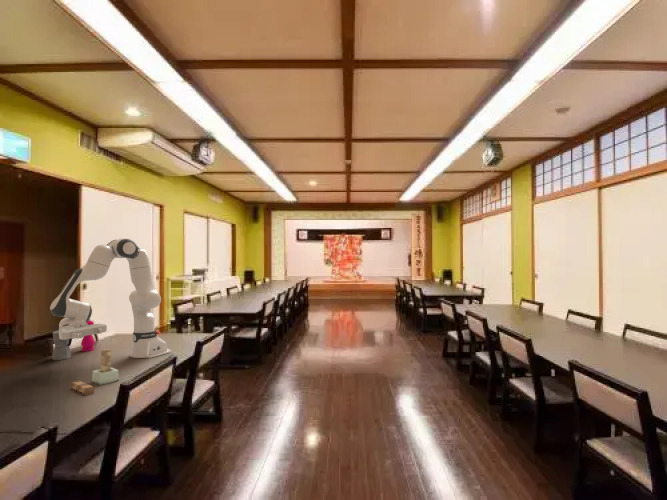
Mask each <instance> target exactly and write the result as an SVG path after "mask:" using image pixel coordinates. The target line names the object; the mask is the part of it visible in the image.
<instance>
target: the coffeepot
mask: <svg viewBox="0 0 667 500" xmlns="http://www.w3.org/2000/svg"><path fill="white" fill-rule="evenodd" d="M52 336H53V338H52V339H53V344H54V348H53V352H52V357H51V359H52V360H53V361H63V359H64V360H68V359H70V358H72V354H71V344H72V341H73V338H71V339H66V340H61V339H59V330H55V331H53V332H52Z"/></svg>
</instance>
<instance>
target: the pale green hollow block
mask: <svg viewBox="0 0 667 500" xmlns="http://www.w3.org/2000/svg"><path fill="white" fill-rule="evenodd" d="M91 379H92V380H91V381H92V383H94V382H95V384H97V385H99V386H101V385H106V384H110V383H114V382H115V383H116V382H119V369H117V368H114V367H111V371H109V372H104V373H101V368H100V369H96V370H92V378H91Z"/></svg>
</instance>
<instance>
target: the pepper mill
mask: <svg viewBox="0 0 667 500" xmlns="http://www.w3.org/2000/svg"><path fill="white" fill-rule="evenodd" d="M87 324H88V325H93V324H95V322H94V321H93V320H91V318H90V319H89V320H88V322H87ZM95 343H96V341H95V339H94V334H92V335H87V336H84V337H82V338H81V342H80V345H81V346H82V347H81V351H82V352H92V351H94V350H95V349H94V348H95V347H94V345H95Z"/></svg>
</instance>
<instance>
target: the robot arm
mask: <svg viewBox="0 0 667 500" xmlns="http://www.w3.org/2000/svg"><path fill="white" fill-rule="evenodd" d="M115 259H126V260H127V262H128V267H129V268H128V269H129V273H130V280H131V283H132V284H133V286H134V288H135V290H133V291H131V293H130V294H129V297H128V301H129V303H130V305H131V309H132V315H133V332H132V347H131V350H130V351H131V352H130V355H129V357H130V358H136V359H137V358H138V359H140V358H141V359H143V358H144V359H145V358H146V359H147V358H148V359H150V358H155V357H158V356H162V355H167V354H170V353H171V352H172V350H171V349H170V348H168V345H167V342H166V341H165V340H164V339H162V338H160V337H158V335H161V331H159V330H155V316H154V314H153V310H152V309H155V308H158V307H159V306H160V304H161V302H162V297H161V295H160V293H159V292H158V289H157V287H156V285H155V283H154V279H153V276H152V270H151V269H152V268H151V264H150V263H151V262H150V259H149V256H148V253H147V251H146V250H145V249H144V248H140V247H139V246H138V245H137V243H136V242H135V241H134V240H132V239H130V238H118V239H112V240H111V241H110V242H108V243H107V244H98V245H96V246H95V247H94V248H93V250H92V252H91V253H90V255H89V257H88V259H87V260H86V263H85V264H84V265H83V266H82V267H81V268H77V269H76V270H75V271H74V272H73V273H72V274H71V275H70V277H69V278H68V280H67V282H66V283H65V285H64V286H63V287H62V289H61V290H60V292H59V294H58V295H57V296H56V297H55V298H54V299H53V301H52V302H51V304H50V306H49V310H50V313H51V314H52V315H53V317H59V318H62V319H61V320H60V321H59V324H58V331H59V339H61V340H66V339H71V338H72V339H83V337H84V336H87V335H96V334H102V333H106V332H107V331H108V329H107V327H108V326H107V324H104V323H94V324H93V325H88V324H87V322H88V320H89V319H90V320H91V317H92V315H93V309H92V306H91V304H90V303H89V302H86V301H82V300H76V299H72V298H70V296H71V295H72V294H73V292H74V291H75V289H76V288H77V286H78V285H79V284H80V283H82V282H85V281H89V282H90V281H97V280H100V279H103V278H105V276H106V275H107V274H108V271H109V269H110V266H111V264H112V262H113V260H115Z"/></svg>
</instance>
